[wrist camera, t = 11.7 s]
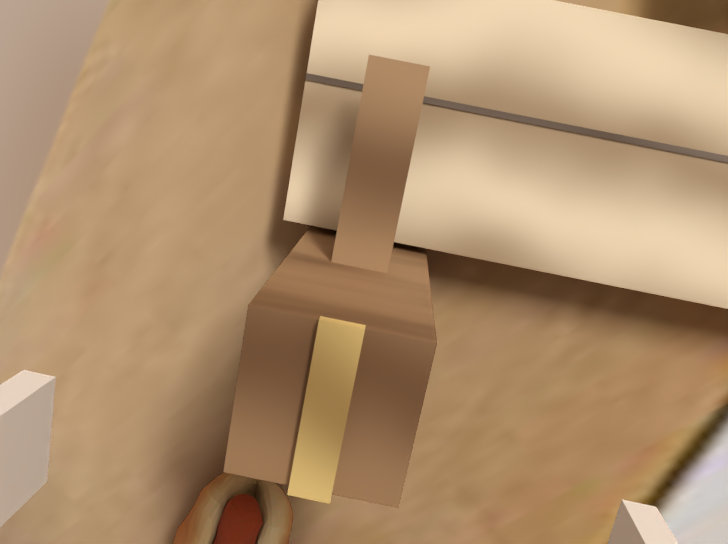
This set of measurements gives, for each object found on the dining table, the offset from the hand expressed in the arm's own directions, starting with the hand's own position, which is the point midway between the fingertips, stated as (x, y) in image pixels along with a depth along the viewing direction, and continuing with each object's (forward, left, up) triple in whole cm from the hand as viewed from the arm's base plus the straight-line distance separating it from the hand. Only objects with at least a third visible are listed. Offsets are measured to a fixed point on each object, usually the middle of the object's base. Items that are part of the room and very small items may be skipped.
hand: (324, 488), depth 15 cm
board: (+8, -8, -15) cm, 19 cm away
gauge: (+4, 0, -15) cm, 15 cm away
